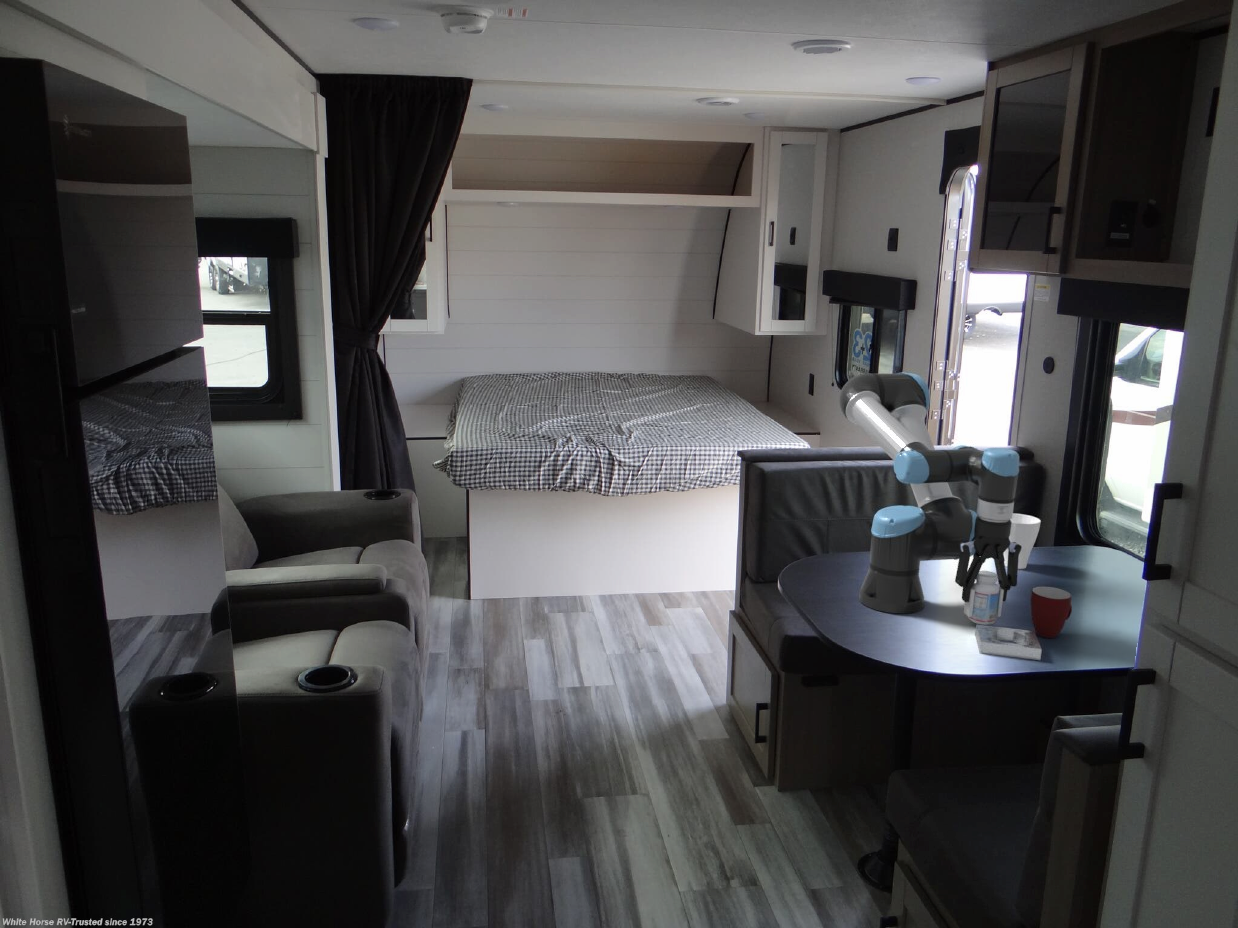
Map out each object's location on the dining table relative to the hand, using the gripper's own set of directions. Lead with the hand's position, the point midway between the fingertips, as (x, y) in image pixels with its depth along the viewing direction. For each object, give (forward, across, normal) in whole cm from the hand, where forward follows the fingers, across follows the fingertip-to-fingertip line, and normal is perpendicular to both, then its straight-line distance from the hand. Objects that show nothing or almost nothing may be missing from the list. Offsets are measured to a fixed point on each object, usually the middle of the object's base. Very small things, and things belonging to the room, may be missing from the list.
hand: (981, 614), depth 211 cm
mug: (+3, +14, -5) cm, 15 cm away
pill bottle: (+2, 0, 0) cm, 2 cm away
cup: (+3, +29, +41) cm, 50 cm away
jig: (+2, 0, -12) cm, 12 cm away
